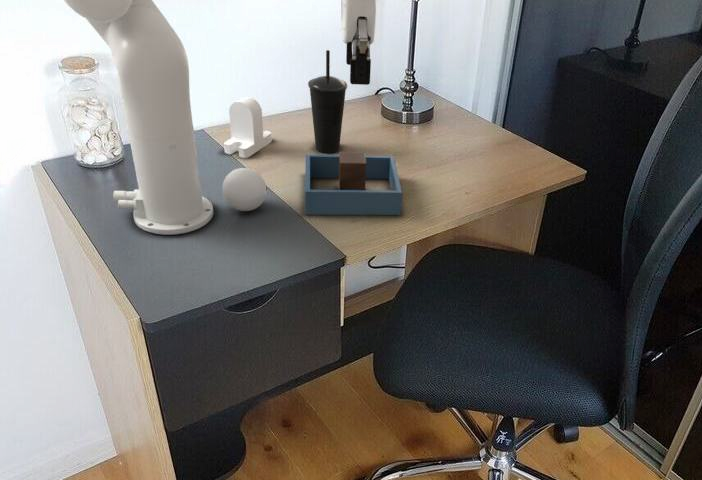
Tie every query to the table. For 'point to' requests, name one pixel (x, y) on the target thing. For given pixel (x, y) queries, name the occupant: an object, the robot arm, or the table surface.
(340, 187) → the walnut block
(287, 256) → the table surface
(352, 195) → the desk tub
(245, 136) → the cable organizer
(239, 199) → the white ball
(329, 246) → the table surface
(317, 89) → the drinking cup
